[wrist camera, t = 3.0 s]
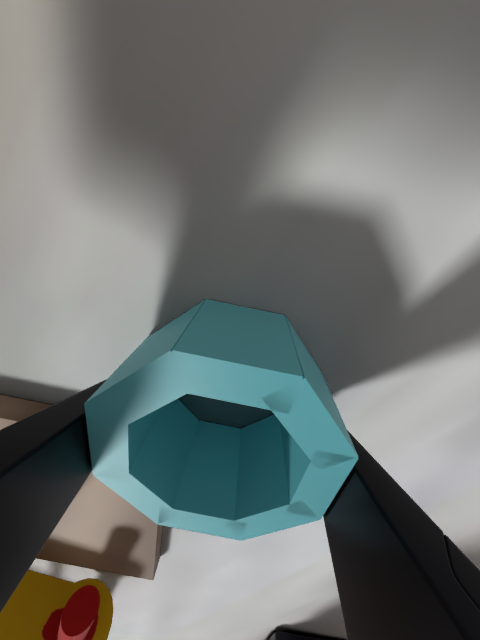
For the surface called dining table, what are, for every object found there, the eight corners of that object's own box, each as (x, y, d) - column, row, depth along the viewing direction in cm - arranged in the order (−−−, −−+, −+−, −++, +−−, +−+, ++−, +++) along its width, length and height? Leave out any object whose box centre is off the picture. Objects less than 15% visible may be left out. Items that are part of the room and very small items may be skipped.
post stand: (172, 428, 10) (97, 610, 5) (159, 557, 15) (115, 711, 10) (-104, 374, 10) (-434, 512, 5) (-24, 523, 14) (-155, 662, 10)
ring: (341, 326, 7) (397, 395, 4) (287, 454, 10) (300, 551, 7) (148, 286, 7) (75, 330, 4) (144, 426, 10) (97, 512, 7)
